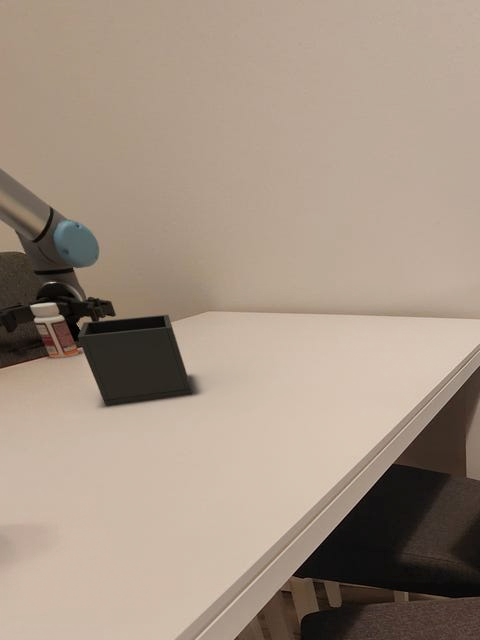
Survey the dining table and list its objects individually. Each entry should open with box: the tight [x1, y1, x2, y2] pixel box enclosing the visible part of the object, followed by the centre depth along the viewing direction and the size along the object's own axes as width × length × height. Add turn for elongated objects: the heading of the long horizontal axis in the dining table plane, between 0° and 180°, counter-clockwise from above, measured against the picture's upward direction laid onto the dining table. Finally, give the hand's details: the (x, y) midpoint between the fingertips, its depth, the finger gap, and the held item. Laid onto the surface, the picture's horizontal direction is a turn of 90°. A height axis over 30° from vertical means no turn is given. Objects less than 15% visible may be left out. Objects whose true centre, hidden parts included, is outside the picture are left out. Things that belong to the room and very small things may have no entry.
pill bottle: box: [30, 303, 79, 359], centre depth 105 cm, size 5×5×8 cm
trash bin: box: [77, 314, 193, 407], centre depth 85 cm, size 11×11×9 cm
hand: (50, 320), depth 105 cm, fingers open, 13 cm apart
